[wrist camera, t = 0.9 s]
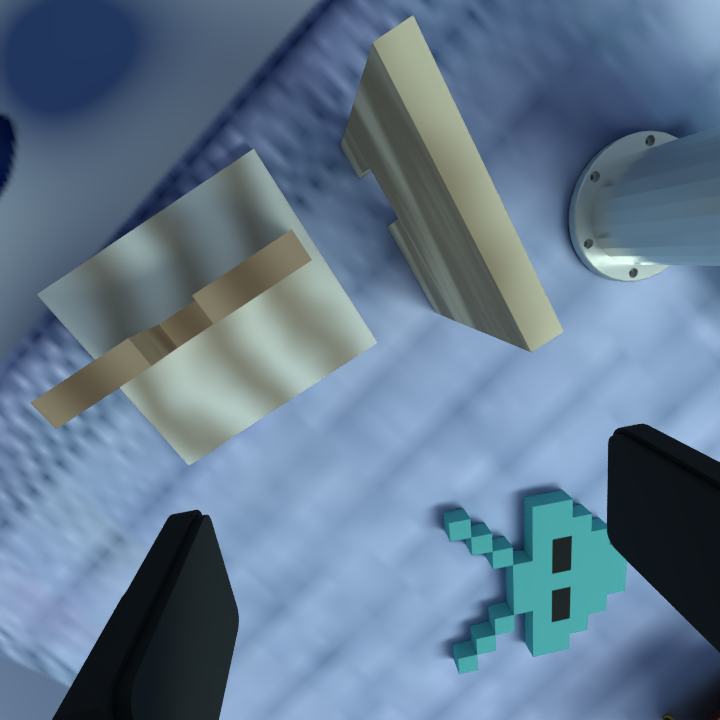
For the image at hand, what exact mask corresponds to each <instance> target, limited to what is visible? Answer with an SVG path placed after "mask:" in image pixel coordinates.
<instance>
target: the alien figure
mask: <svg viewBox="0 0 720 720" xmlns="http://www.w3.org/2000/svg"><path fill="white" fill-rule="evenodd" d="M443 516H444V530H445V532H446V534H447V536H448V538H449V540H450V542H452V541H457V540H462V539H465V542H466V546H467V547H468V549H469V551H470V553H471V555H472V556H474V555H479V554H484V553H486V558H487V560H488V561H489V563H490V565H491V566H492V568H493V569H497V568H502V567H505V568H506V602H504V603H499V604H494V605H490V606H488V621H487V622H483V623H478V624H474V625H470V632H471V640H470V641H466V642H461V643H457V644H453V657H454V661H455V664H456V667H457V669H458V672H459V674H462V673H466V672H470V671H475V670H478V660H477V655H478V654H483V653H487V652H491V651H496V635H498V634H502V633H507V632H511V631H514V615H516V614H521V613H525V644H526V645H527V647H528V649H529V651H530V652H531V654H532V656H533V657H535V656H539V655H544V654H548V653H552V652H556V651H561V650H565V649H569V634H570V633H574V632H579V631H583V630H587V626H588V614H591V613H596V612H600V611H605V610H606V600H607V594H612V593H616V592H621V591H625V581H626V566H627V560H626V559H625V558H624V557H623V556H622V555H621V554H620V553H619V552H618V551H617V550H616V549H615V548H614V547H613V546H612V544H611V543H610V540H609V538H608V535H607V524H606V523H604V522H603V521H602V520H601V519H600V518H595V519H592V513H591V512H589V511H588V510H587V509H586V508H585V507H584V506H583V505H582V504H579V505H574V506H573V499H572V498H571V497H570V496H569V495H568V494H566V493H565V492H564V491H563V490H560V491H554V492H549V493H544V494H538V495H533V496H528V497H524V550H520V551H515V552H513V547H512V546H511V544H510V543H509V542H508V540H507V539H506V538H505V536H504V537H499V538H494V539H492V533H491V531H490V530H489V529H488V527H487V526H486V524H485V523H481V524H475V525H471V521H470V518H469V516H468V515H467V513H466V511H465V510H464V509H459V510H453V511H448V512H443Z"/></svg>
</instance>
